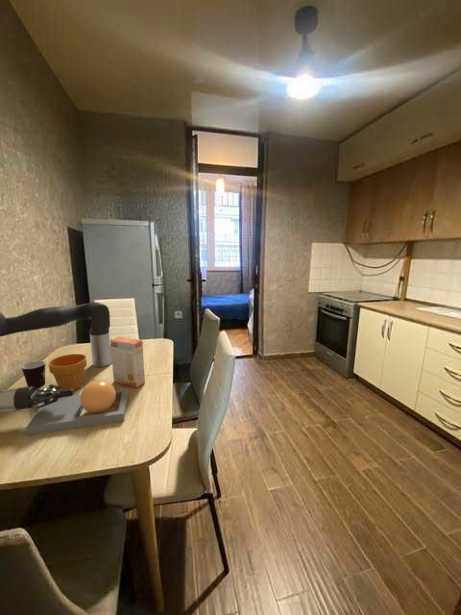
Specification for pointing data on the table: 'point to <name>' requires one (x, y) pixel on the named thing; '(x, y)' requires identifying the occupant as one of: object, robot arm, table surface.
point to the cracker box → (127, 361)
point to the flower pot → (68, 370)
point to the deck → (73, 415)
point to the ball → (98, 397)
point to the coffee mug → (34, 373)
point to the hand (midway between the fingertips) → (72, 392)
